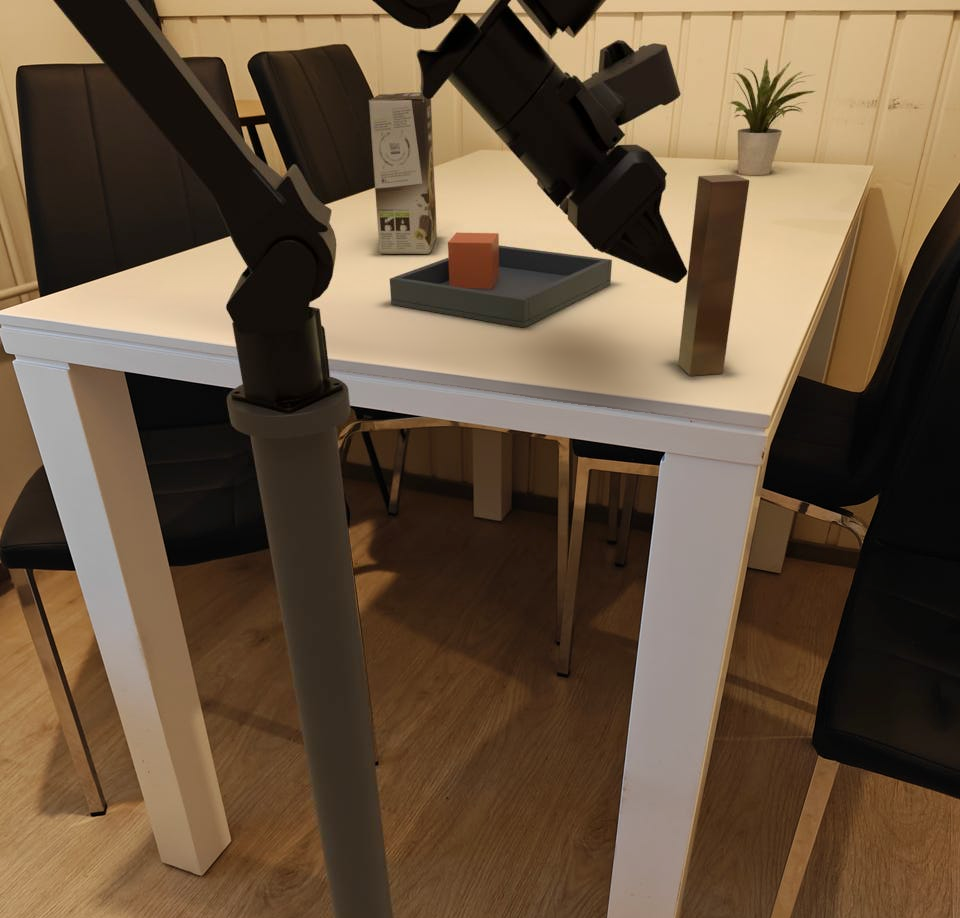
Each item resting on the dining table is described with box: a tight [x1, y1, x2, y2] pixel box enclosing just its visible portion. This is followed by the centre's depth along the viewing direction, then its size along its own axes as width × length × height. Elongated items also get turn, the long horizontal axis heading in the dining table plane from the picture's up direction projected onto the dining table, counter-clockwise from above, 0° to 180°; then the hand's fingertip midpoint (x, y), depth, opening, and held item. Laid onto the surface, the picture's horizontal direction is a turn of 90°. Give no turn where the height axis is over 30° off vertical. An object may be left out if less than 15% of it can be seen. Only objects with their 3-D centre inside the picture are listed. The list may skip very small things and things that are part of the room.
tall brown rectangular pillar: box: [677, 173, 750, 377], centre depth 70 cm, size 3×3×14 cm
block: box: [447, 232, 500, 289], centre depth 94 cm, size 4×4×4 cm
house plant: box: [729, 58, 816, 176], centre depth 147 cm, size 14×14×16 cm
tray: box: [389, 244, 613, 328], centre depth 93 cm, size 18×16×2 cm
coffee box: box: [368, 91, 438, 255], centre depth 107 cm, size 9×6×16 cm
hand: (665, 262), depth 69 cm, fingers open, 9 cm apart
